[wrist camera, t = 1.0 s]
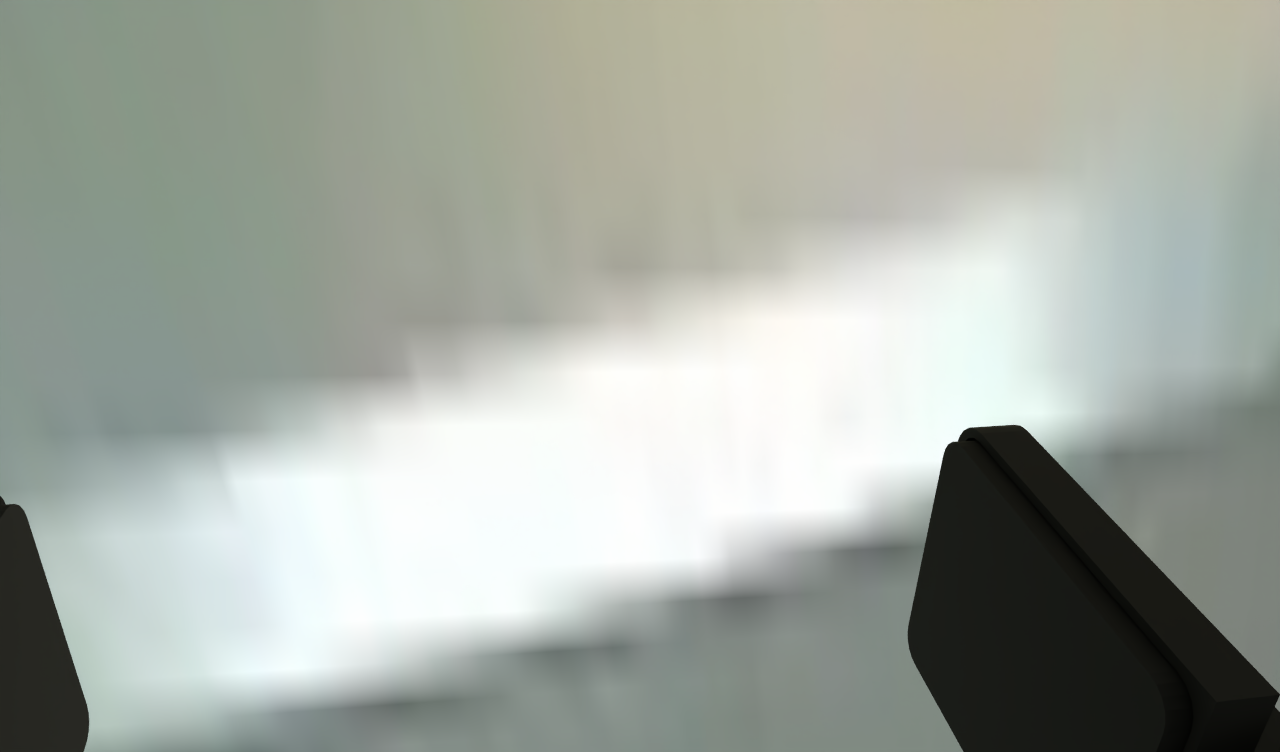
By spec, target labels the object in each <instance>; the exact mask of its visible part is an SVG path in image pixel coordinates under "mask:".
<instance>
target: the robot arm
mask: <svg viewBox="0 0 1280 752" xmlns="http://www.w3.org/2000/svg"><path fill="white" fill-rule="evenodd" d="M908 644H909V649H910V653H911V656H912V659H913V661H914V663H915V665H916V667H917V669H918V671H919V672H920V674H921V676H922V678H923V680H924V681H925V683H926V685H927V687H928V689H929V690H930V692H931V694H932V696H933V698H934V699H935V701H936V703H937V705H938V707H939V708H940V710H941V712H942V714H943V716H944V717H945V719H946V721H947V723H948V724H949V726H950V728H951V730H952V732H953V733H954V735H955V737H956V739H957V741H958V742H959V744H960V746H961V748H962V750H963V751H964V752H1280V712H1279V711H1278V710H1277V709H1276V708H1275V705H1276V702H1277V700H1278V698H1279V696H1280V694H1279V693H1278V692H1277V691H1276V690H1275V689H1274V688H1273V687H1272V686H1271V685H1270V684H1269V683H1268V682H1267V681H1266V680H1265V678H1264V677H1263V676H1262V675H1261V674H1260V673H1259V672H1258V671H1257V670H1256V669H1255V668H1254V667H1253V666H1252V665H1251V664H1250V663H1249V662H1248V661H1247V660H1246V659H1245V658H1244V657H1243V656H1242V654H1241V653H1240V652H1239V651H1238V650H1237V649H1236V648H1235V647H1234V646H1233V645H1232V644H1231V643H1230V642H1229V641H1228V640H1227V639H1226V638H1225V637H1224V636H1223V635H1222V634H1221V633H1220V632H1219V630H1218V629H1217V628H1216V627H1215V626H1214V625H1213V624H1212V623H1211V622H1210V621H1209V620H1208V619H1207V618H1206V617H1205V616H1204V615H1203V614H1202V613H1201V612H1200V611H1199V610H1198V609H1197V608H1196V606H1195V605H1194V604H1193V603H1192V602H1191V601H1190V600H1189V599H1188V598H1187V597H1186V596H1185V595H1184V594H1183V593H1182V592H1181V591H1180V590H1179V589H1178V588H1177V587H1176V586H1175V585H1174V584H1173V582H1172V581H1171V580H1170V579H1169V578H1168V577H1167V576H1166V575H1165V574H1164V573H1163V572H1162V571H1161V570H1160V569H1159V568H1158V567H1157V566H1156V565H1155V564H1154V563H1153V562H1152V561H1151V560H1150V558H1149V557H1148V556H1147V555H1146V554H1145V553H1144V552H1143V551H1142V550H1141V549H1140V548H1139V547H1138V546H1137V545H1136V544H1135V543H1134V542H1133V541H1132V540H1131V539H1130V538H1129V537H1128V536H1127V534H1126V533H1125V532H1124V531H1123V530H1122V529H1121V528H1120V527H1119V526H1118V525H1117V524H1116V523H1115V522H1114V521H1113V520H1112V519H1111V518H1110V517H1109V516H1108V515H1107V514H1106V513H1105V512H1104V510H1103V509H1102V508H1101V507H1100V506H1099V505H1098V504H1097V503H1096V502H1095V501H1094V500H1093V499H1092V498H1091V497H1090V496H1089V495H1088V494H1087V493H1086V492H1085V491H1084V490H1083V489H1082V488H1081V486H1080V485H1079V484H1078V483H1077V482H1076V481H1075V480H1074V479H1073V478H1072V477H1071V476H1070V475H1069V474H1068V473H1067V472H1066V471H1065V470H1064V469H1063V468H1062V467H1061V466H1060V465H1059V464H1058V462H1057V461H1056V460H1055V459H1054V458H1053V457H1052V456H1051V455H1050V454H1049V453H1048V452H1047V451H1046V450H1045V449H1044V448H1043V447H1042V446H1041V445H1040V444H1039V443H1038V442H1037V441H1036V440H1035V438H1034V437H1033V436H1032V435H1031V434H1030V433H1029V432H1028V431H1027V430H1026V429H1024V428H1023V427H1021V426H1018V425H1005V426H990V427H974V428H968V429H966V430H964V431H963V433H962V434H961V435H960V437H959V440H958V442H952V443H950V444H948V446H947V447H946V449H945V452H944V455H943V460H942V465H941V470H940V475H939V480H938V485H937V489H936V494H935V499H934V504H933V509H932V514H931V519H930V523H929V528H928V533H927V538H926V543H925V548H924V553H923V558H922V562H921V567H920V572H919V577H918V582H917V587H916V592H915V596H914V601H913V606H912V611H911V616H910V621H909V626H908ZM88 732H89V713H88V708H87V704H86V701H85V698H84V695H83V691H82V688H81V685H80V682H79V679H78V676H77V673H76V670H75V666H74V663H73V660H72V657H71V654H70V651H69V648H68V644H67V641H66V638H65V635H64V632H63V629H62V626H61V623H60V619H59V616H58V613H57V610H56V607H55V604H54V601H53V597H52V594H51V591H50V588H49V585H48V582H47V579H46V576H45V572H44V569H43V566H42V563H41V560H40V557H39V554H38V550H37V547H36V544H35V541H34V538H33V535H32V532H31V529H30V525H29V522H28V519H27V517H26V514H25V512H24V510H23V509H22V508H21V507H20V506H19V505H16V504H9V505H6V504H5V502H4V500H3V499H2V497H1V496H0V752H83V751H84V749H85V745H86V742H87V738H88Z"/></svg>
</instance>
